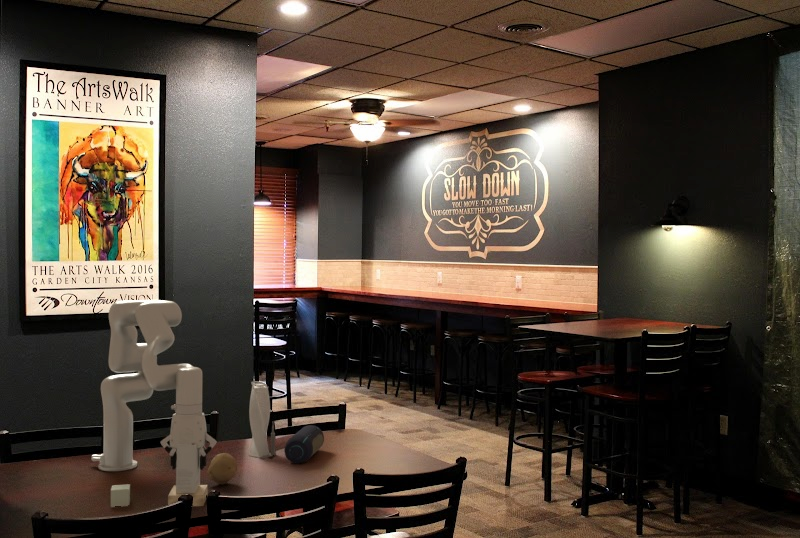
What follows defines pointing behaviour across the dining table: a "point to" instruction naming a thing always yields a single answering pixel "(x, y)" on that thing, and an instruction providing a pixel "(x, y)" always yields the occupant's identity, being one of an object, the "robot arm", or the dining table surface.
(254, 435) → the skyscraper
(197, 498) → the maple slab
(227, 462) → the tan rounded lump
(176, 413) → the robot arm
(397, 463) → the dining table surface
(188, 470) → the skincare box
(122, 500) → the sage block
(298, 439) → the portable speaker
